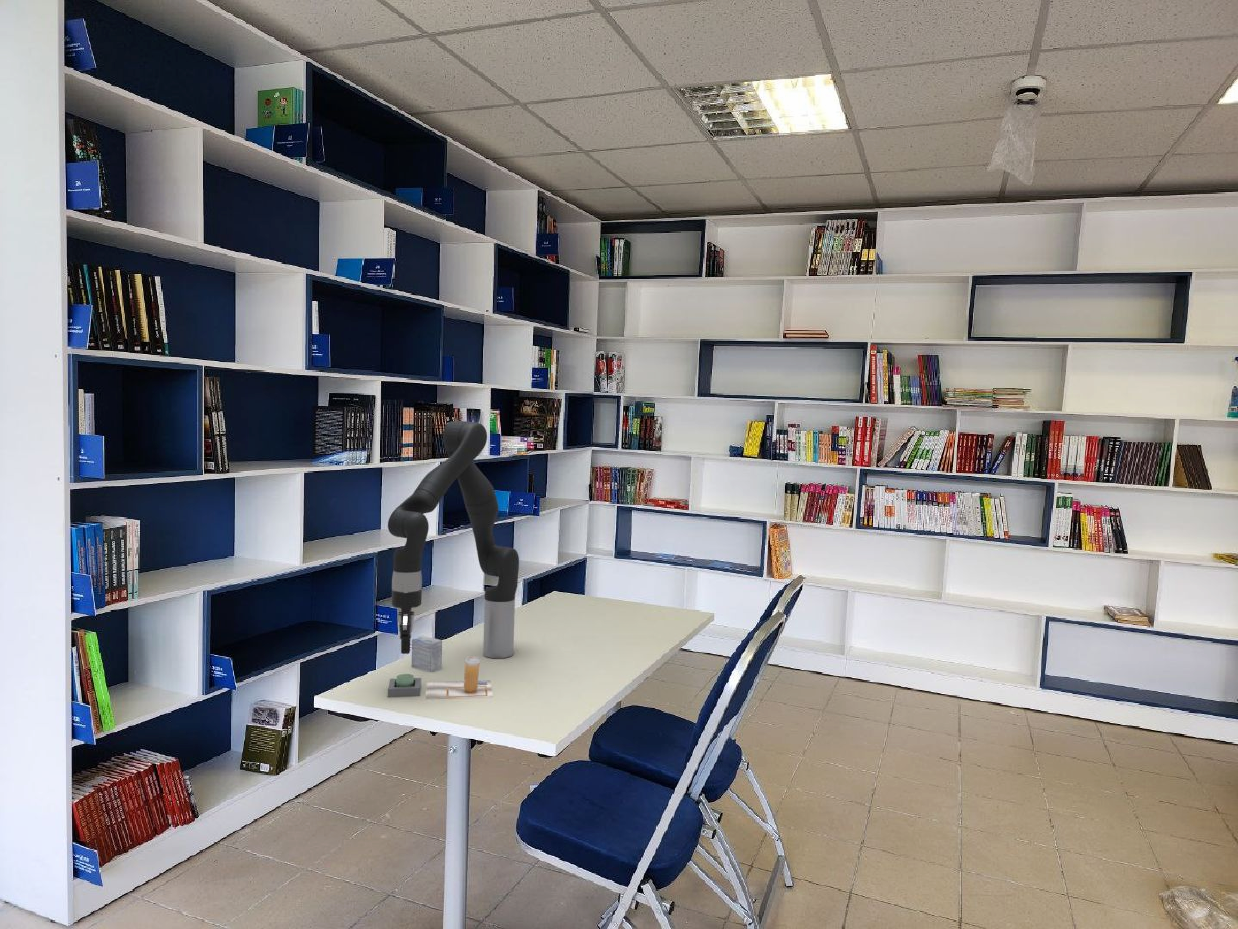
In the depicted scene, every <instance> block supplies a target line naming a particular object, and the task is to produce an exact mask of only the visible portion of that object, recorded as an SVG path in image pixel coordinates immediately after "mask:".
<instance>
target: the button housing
mask: <svg viewBox="0 0 1238 929" xmlns="http://www.w3.org/2000/svg"><path fill="white" fill-rule="evenodd" d="M421 688H422V677H414V686H413V687H396V678H390V679H389V682H388V688H387V698H404V697H405V698H406V697H407V698H409V697H420V696H421V691H422V690H421Z"/></svg>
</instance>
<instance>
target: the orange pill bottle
mask: <svg viewBox="0 0 1238 929" xmlns="http://www.w3.org/2000/svg"><path fill="white" fill-rule="evenodd" d="M480 660H481V659H480V657H479V656H476V655H475V656H474V655H470V656H469V655H468V656H466V657H465V660H464V665H465V666H464V675H463V676H464V679H463V681H464V689H465V691H466V692H467V693H474V692H475V690H476V689H477V688H478V680H479V670H480Z"/></svg>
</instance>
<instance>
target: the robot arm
mask: <svg viewBox="0 0 1238 929" xmlns="http://www.w3.org/2000/svg"><path fill="white" fill-rule="evenodd" d="M442 438H443V444H444V447H445V450H446V453H447V456H448V458H446V460H444V461H443V462H441V463H440V464H439V465H437V466H436V467H434V468H433V469H432V470H430V471H429V472H428V473H427V474H426V475H425V476H423V479H421V481H420V482H419V484H418V485H417V486H416V488H415V490H414V491H413V493H412V494H411V495H410V496H408V497H407V498H406V499H405V500H403V502H402V503H400V505H398V506H397V507H396V508H395V509H394V510H393V511H392V513H391V514H390V515H389V518H388V521H387V529H388V530H387V531H388V532H389V534H391V535H392V536H394V537H395V538H396V537H397V538H404V539H406V542H405V544H404V546H400V547H397V548H396V549H395V550H394V552H393V568H392V570H393V572H392V576H391V577H392V578H391V606H392V607H393V608H397V609H398V608H400V610H401V611H400V610H399V611H398V614H397V620H398V631H399V640H400V654H402V655H405V654H406V655H409V654H410V652H411V640H412V632H413V628H414V621H415V620H414V619H415V611H414V610H412V608H418V607H420V606H421V605H422V595H423V594H422V592H423V591H422V589H423V587H422V586H423V576H422V575H423V574H422V554H423V552H424V549H425V545H426V541H427V537H428V534H429V526H430V525H429V520H428V518H427V516H426V515H425V514H428V513H431V512H434V510H435V509H436V508H437V506H438V505H439V503H441V500H442V499H443V497H444V496H445V494H446V493H447V491H448V490H449V489H450V487H451V486H452V484H454V483H455V481H456V480H457V481H458V485H459V487H460V491H461V496H462V498H463V502H464V505H465V509H466V513H467V515H468V519H469V521H470V524H471V529H472V533H473V537H474V542H475V547H476V552H477V558H478V563H479V567H480V569H481V571H482V573H484V574H485V575H487V576H491V577H497V578H498V581H497V585H493V586H490V587H488V588H486V589H485V590H484V603H483V604H484V607H483V608H484V609H483V643H482V644H483V646H482V647H483V648H482V651H483V652H482V655H483V656H484V657H485V658H491V659H505V658H509V657H512V656H513V655H514V645H515V613H516V612H515V611H516V608H515V606H516V592H517V590H518V583H519V570H520V558H519V557H520V556H519V554H518V551H517V550H516V549H515V548H514V547H507V546H501V545H497V544H496V543H495V539H494V536H493V535H494V534H493V528H494V525H495V523H496V520H497V518H498V515H499V508H500V506H499V502H498V500H497V496H496V491H495V489H494V486H493V485H492V483H491V482H490V481H489V479H488V478H487V477H486V476H485V475H484V474H483V472H482V471H481V470H480V468H478V466H477V464H475V462H474V460H475V459H476V458H477V457H478V456H479V455H480V454H481V452H482V451H483V450H484V449H485V447H486V444H487V441H488V432H487V429H486V427H485V426H484V425H483V424H481V423H480V422H478V421H477V422H476V421H468V420H466V421H464V420H463V421H462V420H454V421H449V422H447V423H446V424H445V426H444V428H443V432H442Z"/></svg>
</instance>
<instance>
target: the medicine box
mask: <svg viewBox="0 0 1238 929" xmlns="http://www.w3.org/2000/svg"><path fill="white" fill-rule="evenodd" d="M411 668H414V669H419V670H423V671H426V672H430V673H433V672H436V671H439V670H441V669H443V640H442V639H438V638H434V637H429V636H424V635H421V636H417V637H414V638H411Z"/></svg>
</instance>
